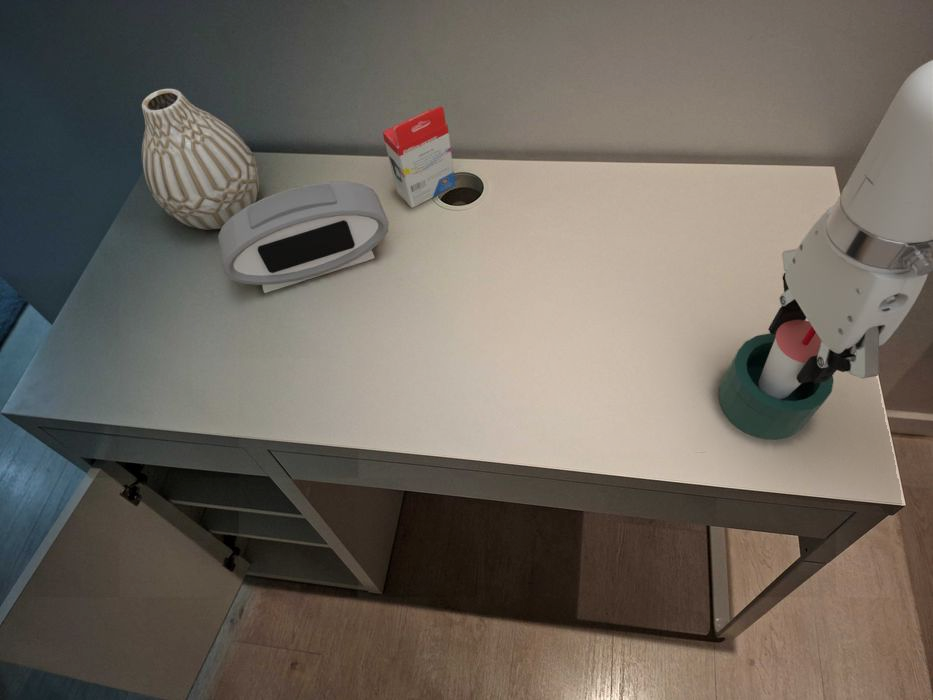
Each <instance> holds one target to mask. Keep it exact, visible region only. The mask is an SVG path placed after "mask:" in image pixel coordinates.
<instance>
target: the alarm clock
mask: <svg viewBox="0 0 933 700" xmlns="http://www.w3.org/2000/svg"><path fill="white" fill-rule="evenodd" d="M388 232H389V220H388V218H387V215H386V213H385V210H384V208H383V204H382V203H381V200H380V198H379V195H378V194H377V193H376V191H375V190H374V189H373V188H371V187H369V186H367V185H366V184H363V183H359V182H353V181H326V182H318V183H311V184H310V183H309V184H306V185H301V186H297V187H294V188H289V189H285V190H282V191H279V192H277V193H274V194H271V195H269V196H266V197H264V198H262V199H259V200H256V201H255V203H253V204H251V205H249V206H247V207H246V208H244V209H243V210H241V211H240V212H238V213H237V214H235V215H234V216H232V217H231V218H230V219H229V220H228V221H227V222H226V223H225V224H224V225H223V226H222V228H220V231H219V233H218V235H217V238H218V245H219V250H220V257H221V264H222V270H223V274H224V275H225V276H226V277H228V279H230V280H231V281H233V282H237V283H240V284H244V285H254V286H255V285H256V286H262V291H263V292H264V294H267V293H270V292H273V291H276V290H280V289H282V288H285V287H286V288H287V287H288V286H292V285H295V284H299V283H301V282H304V281H308V280H310V279H314V278H318V277H320V276H323V275H326V274H327V275H328V274H330V273H333V272H336V271H340V270H343V269H346V268H348V267H353V266H356V265H358V264H361V263H364V262H368V261H371V260H374V259H375V258H376V257H375V255H374V252H373V249H374V248H375V247H376V246H378V244H380V242H382V241H383V240H384V238H385V236H386V235H387V234H388Z"/></svg>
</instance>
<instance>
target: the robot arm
mask: <svg viewBox="0 0 933 700" xmlns="http://www.w3.org/2000/svg"><path fill="white" fill-rule="evenodd" d="M848 178H849V179H848V181H847V182H846V184H845V186H844V187H843V189H842V190H841V193H840V195H839V196H838V198H837V200H836V201H835V204H834V205H832V206H831V207H829V208H828V209H827V210H826V211H825V212H824V213H823V214H822V215H821V216H820V217H819V218H818V220H816V222H815V223H814V224H813V226H812V227H811V228H810V230H808V231H807V233H806V234H805V237H804V238H803V239H802V241H801V242H800V244H799V245H798V247H797V248H793V249H789V250H784V251H783V252H782V256H781V257H782V265H783V271H784V273H783V275H782V283H783V293H781V294H780V295H779V299H778V300H779V304H780V305H781V306H780V307H779V309H778V311H777V313H776V314H775V316H774V318H773V320H772V322H771V323H770V325H769V326H768V328H767V330H768V332H769V333H771V334H773V335H775V334H776V332H777V330H778V328H779V327H780V326H781V325H782V324H784V323H785V322H788V321H793V320H805V321H806V319H807V321H809V322H810V324H811V325H812V327H813V328H814V330H815V331H816V333H817V334H818V336H819V337H820V339H821V340H822V341H821V344H820V348H819V352H818V355H817V356H812V357H810V358H809V359H808V361H807V362H806V364H805V365H804V367H803V368H802V369H801V371H800V372H799V374H798V375H797V378H796V379H797V380H798V382H799V383H805V382H810V381H813V382H814V383H821V382H825V381H827V380H829V379H830V378H831V377H832V375H834V374H835V373H836V372H837V371H838V372H841V373H845V372H846V373H849V374H850V375H852V376H855V377H857V378H859V379H861V380H863V379H867V378H868V379H869V378H874V377H877V376H879V375H880V346H883V345H884V344H885V343H886V342H887V341H889V339H891V337H892V335H894V333H895V332H896V331H897V329H898V328H899V327H900V325H901V324H902V323H903V321H904V320H905V318H906V317H907V315H908V314H909V312H910V311H911V309H912V308H913V306H914V304H915V303H916V300H917V299H918V297H919V295H920V294H921V292H922V289H923V287H924V285H925V283H926V281H927V278H928V275H929V274H930V273H931V272H933V59H931V60H929V61H928V62H925V63H923V64H922V65H920V66H919V67H918V68H916V69H914V71H912V72H911V73H910V74H909V76H908V77H906V78H905V80H904V82H903V83H902V84H901V85H900V88H899V89H898V91H897V93H896V94H895V96H894V98H893V100H892V101H891V103H890V105H889V106H888V108H887V111H886V112H885V114H884V115H883V117H882V119H881V121H880V123H879V125H878V127H877V128H876V129H875V132H874V133H873V136H872V137H871V139H870V141H869V143H868V144H867V146H866V148H865V149H864V151H863V154H861V156H860V159H859V161H858V162H857V164H856V166H855V168H854V170H853V172H852V173H851V175H850V176H849V177H848Z"/></svg>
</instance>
